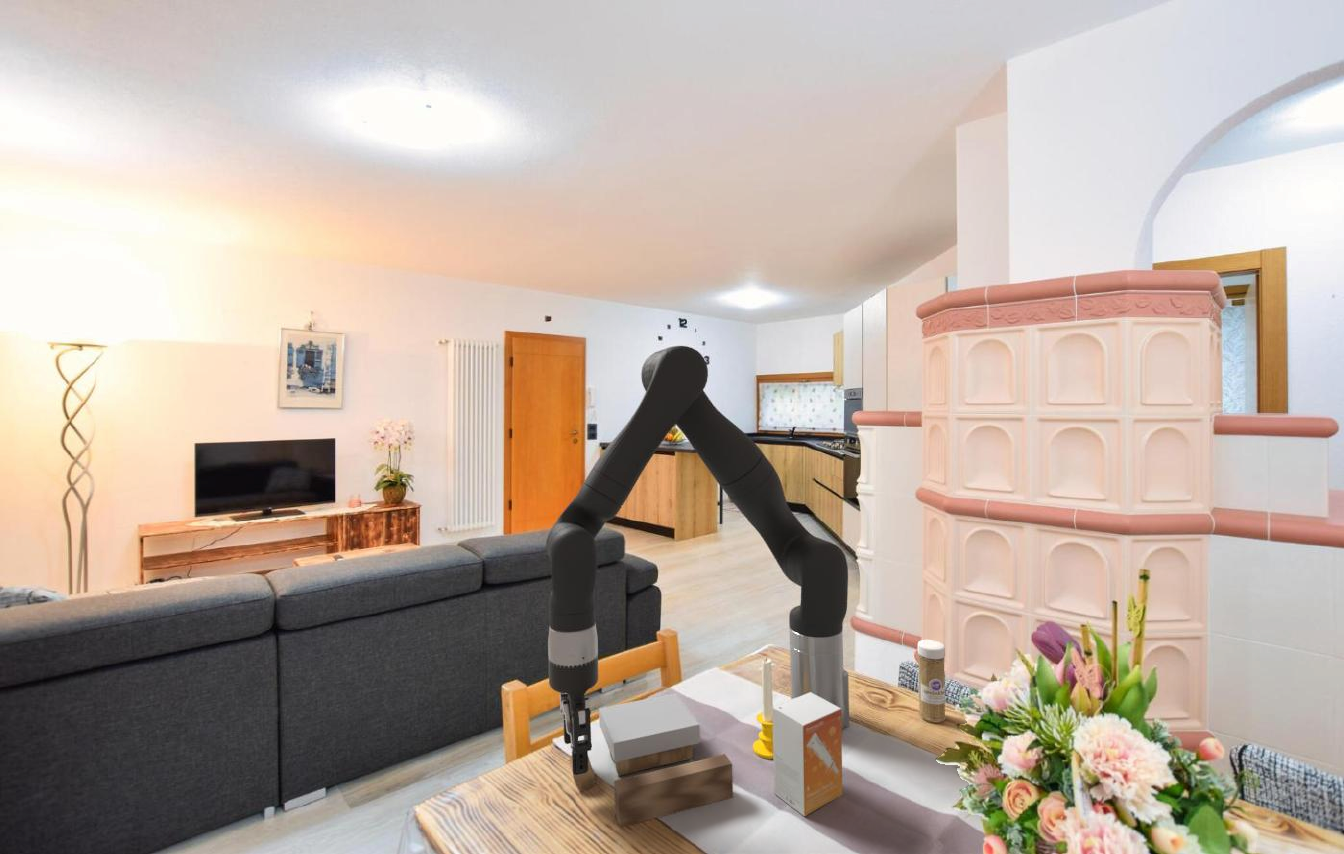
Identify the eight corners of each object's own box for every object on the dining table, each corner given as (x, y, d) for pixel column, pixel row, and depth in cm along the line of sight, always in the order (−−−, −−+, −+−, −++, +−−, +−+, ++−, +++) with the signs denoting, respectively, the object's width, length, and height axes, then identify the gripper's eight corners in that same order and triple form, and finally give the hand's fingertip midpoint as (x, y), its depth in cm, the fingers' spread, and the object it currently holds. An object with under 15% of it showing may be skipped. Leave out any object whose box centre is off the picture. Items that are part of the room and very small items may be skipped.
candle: (759, 761, 93) (757, 665, 92) (748, 743, 98) (746, 652, 98) (789, 756, 94) (787, 662, 94) (777, 738, 99) (775, 649, 99)
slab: (677, 709, 103) (676, 692, 103) (699, 742, 93) (699, 724, 92) (599, 725, 98) (598, 708, 98) (614, 762, 88) (613, 743, 88)
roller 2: (685, 750, 96) (684, 730, 96) (693, 762, 93) (692, 741, 93) (615, 767, 92) (614, 745, 92) (620, 780, 89) (619, 758, 89)
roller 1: (566, 766, 92) (574, 748, 92) (584, 770, 93) (591, 752, 93) (572, 787, 87) (579, 768, 87) (590, 791, 88) (598, 772, 88)
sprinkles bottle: (928, 725, 102) (927, 650, 101) (913, 712, 106) (911, 640, 106) (951, 721, 103) (950, 647, 102) (935, 709, 107) (934, 637, 107)
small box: (804, 818, 80) (802, 725, 79) (772, 793, 85) (770, 706, 85) (844, 795, 84) (842, 707, 84) (811, 773, 90) (809, 690, 89)
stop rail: (725, 786, 87) (724, 753, 87) (732, 796, 85) (731, 763, 84) (615, 815, 82) (614, 780, 81) (619, 827, 79) (618, 791, 79)
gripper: (607, 668, 84) (609, 778, 84) (588, 633, 97) (590, 728, 98) (554, 676, 81) (557, 790, 82) (543, 639, 95) (545, 737, 95)
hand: (575, 756), depth 90 cm, fingers open, 8 cm apart
